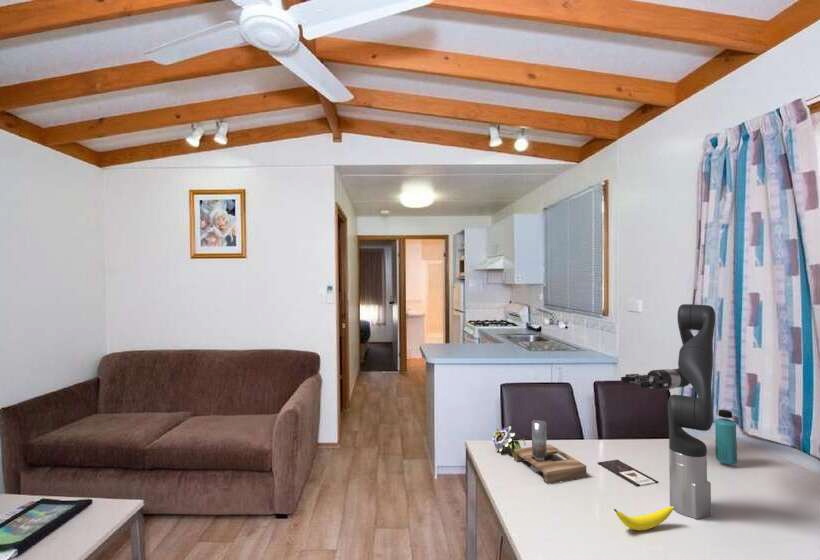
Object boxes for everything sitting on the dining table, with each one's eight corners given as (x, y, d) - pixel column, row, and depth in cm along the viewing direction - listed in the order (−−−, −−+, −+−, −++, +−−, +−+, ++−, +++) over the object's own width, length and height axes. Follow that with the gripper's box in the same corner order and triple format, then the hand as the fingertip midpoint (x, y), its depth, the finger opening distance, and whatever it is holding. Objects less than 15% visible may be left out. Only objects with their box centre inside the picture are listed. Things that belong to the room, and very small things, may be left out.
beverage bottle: (742, 469, 147) (741, 413, 148) (723, 468, 148) (722, 413, 148) (728, 461, 154) (727, 408, 154) (710, 461, 154) (710, 407, 154)
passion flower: (498, 465, 163) (484, 436, 169) (519, 456, 167) (505, 427, 173) (510, 459, 154) (495, 428, 160) (532, 449, 158) (517, 419, 164)
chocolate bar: (617, 459, 154) (658, 481, 137) (617, 462, 154) (658, 484, 137) (597, 462, 152) (636, 485, 135) (597, 464, 152) (636, 487, 135)
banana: (678, 527, 112) (678, 504, 112) (618, 536, 108) (618, 512, 108) (670, 521, 115) (669, 498, 115) (610, 530, 111) (610, 506, 111)
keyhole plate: (586, 477, 141) (586, 465, 141) (547, 484, 136) (547, 472, 136) (549, 454, 160) (549, 444, 160) (514, 460, 155) (514, 449, 155)
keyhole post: (551, 472, 145) (551, 424, 145) (537, 474, 143) (536, 425, 144) (541, 465, 151) (541, 418, 151) (527, 467, 149) (527, 420, 149)
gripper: (647, 366, 165) (615, 368, 160) (680, 373, 151) (647, 376, 146) (648, 384, 165) (615, 388, 160) (681, 393, 151) (647, 397, 146)
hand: (630, 382), depth 153 cm, fingers open, 8 cm apart
